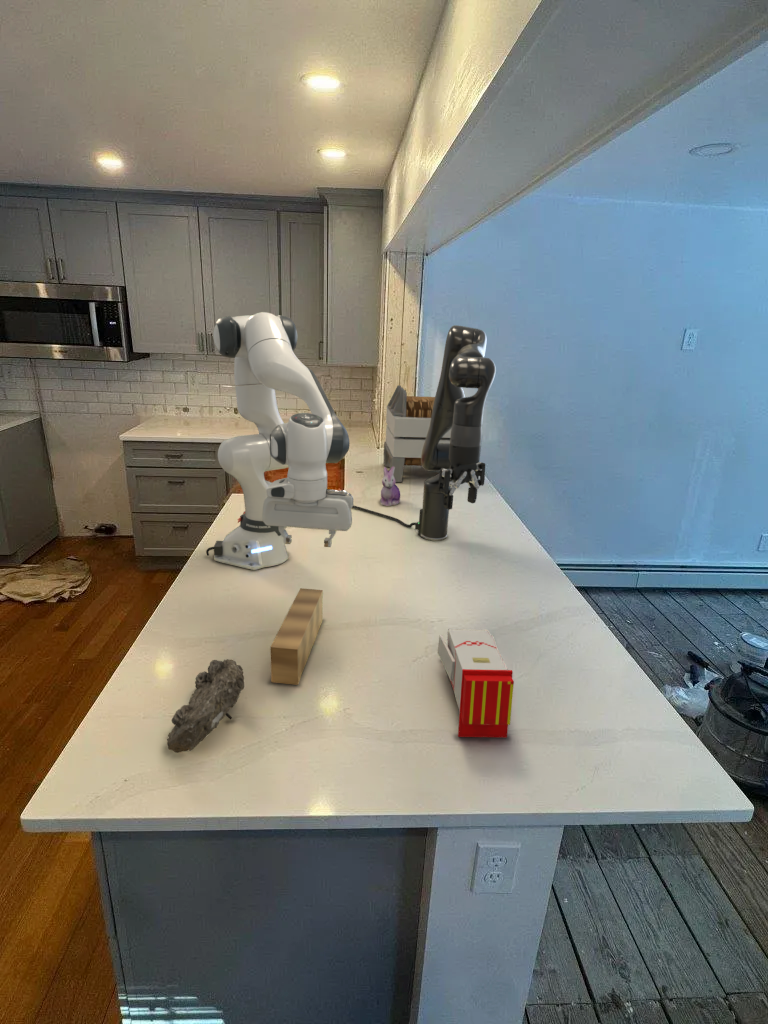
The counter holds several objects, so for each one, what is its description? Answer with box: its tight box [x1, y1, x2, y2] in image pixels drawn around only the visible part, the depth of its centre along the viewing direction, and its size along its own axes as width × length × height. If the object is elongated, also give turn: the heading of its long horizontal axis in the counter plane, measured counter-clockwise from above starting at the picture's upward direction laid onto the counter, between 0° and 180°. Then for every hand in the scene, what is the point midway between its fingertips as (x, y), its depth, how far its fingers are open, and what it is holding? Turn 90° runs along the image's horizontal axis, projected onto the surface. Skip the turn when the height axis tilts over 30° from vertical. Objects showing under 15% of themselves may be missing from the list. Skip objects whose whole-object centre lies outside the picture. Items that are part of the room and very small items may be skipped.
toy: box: [437, 628, 515, 738], centre depth 117 cm, size 12×13×30 cm
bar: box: [269, 587, 324, 686], centre depth 129 cm, size 26×6×9 cm, turn 175°
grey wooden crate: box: [383, 384, 455, 483], centre depth 268 cm, size 34×33×41 cm
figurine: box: [379, 466, 401, 507], centre depth 228 cm, size 9×10×15 cm
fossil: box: [166, 658, 245, 754], centre depth 106 cm, size 22×10×15 cm
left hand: (307, 544), depth 131 cm, fingers open, 8 cm apart
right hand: (459, 505), depth 142 cm, fingers open, 8 cm apart
